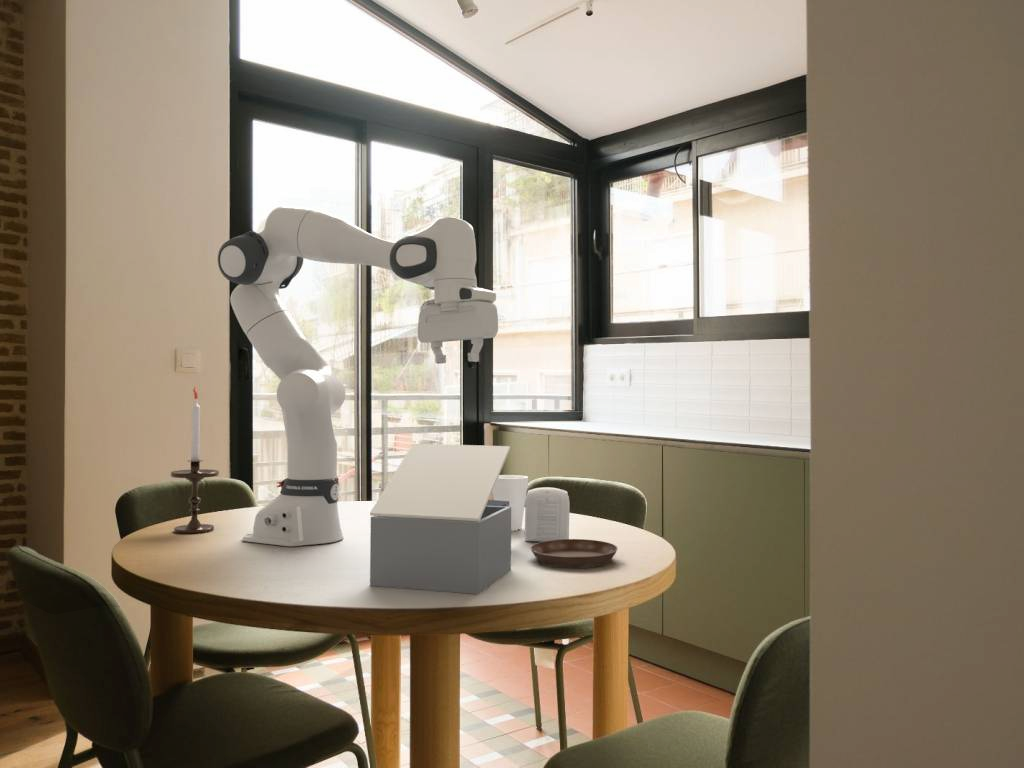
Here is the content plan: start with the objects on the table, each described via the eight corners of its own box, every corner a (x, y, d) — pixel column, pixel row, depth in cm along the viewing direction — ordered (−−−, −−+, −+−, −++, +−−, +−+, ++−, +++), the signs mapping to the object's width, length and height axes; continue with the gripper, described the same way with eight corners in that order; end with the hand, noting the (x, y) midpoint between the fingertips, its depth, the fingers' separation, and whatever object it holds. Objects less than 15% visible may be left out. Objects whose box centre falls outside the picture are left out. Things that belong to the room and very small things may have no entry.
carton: (370, 585, 138) (370, 517, 139) (414, 562, 158) (414, 502, 158) (478, 594, 133) (479, 522, 133) (510, 569, 152) (511, 506, 152)
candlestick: (161, 531, 192) (163, 386, 192) (204, 525, 200) (205, 387, 201) (183, 536, 185) (185, 386, 185) (226, 530, 193) (228, 387, 194)
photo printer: (569, 540, 184) (569, 486, 184) (569, 543, 180) (569, 488, 180) (525, 539, 185) (525, 486, 185) (524, 542, 180) (524, 488, 181)
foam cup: (527, 531, 194) (528, 478, 195) (490, 531, 194) (490, 478, 195) (527, 525, 204) (527, 475, 204) (491, 525, 204) (491, 474, 204)
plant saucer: (554, 574, 150) (554, 558, 150) (516, 556, 166) (516, 542, 166) (634, 566, 157) (634, 551, 157) (590, 550, 173) (590, 536, 173)
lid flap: (370, 515, 139) (369, 512, 138) (413, 446, 157) (412, 443, 157) (479, 521, 133) (478, 518, 133) (510, 448, 152) (509, 446, 151)
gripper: (410, 299, 168) (411, 364, 168) (481, 289, 155) (482, 359, 155) (431, 301, 173) (432, 364, 173) (502, 292, 160) (503, 360, 159)
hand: (456, 362), depth 164 cm, fingers open, 8 cm apart
